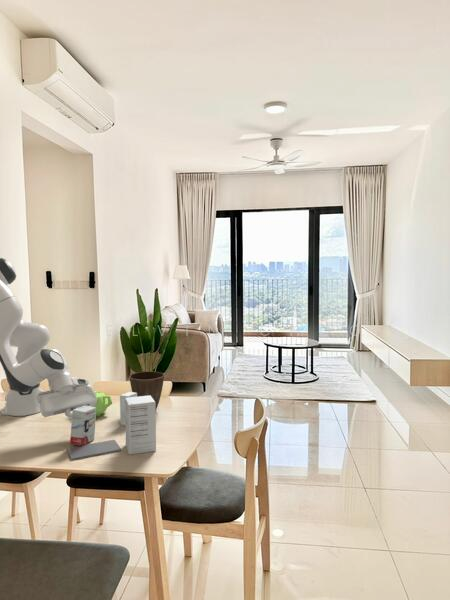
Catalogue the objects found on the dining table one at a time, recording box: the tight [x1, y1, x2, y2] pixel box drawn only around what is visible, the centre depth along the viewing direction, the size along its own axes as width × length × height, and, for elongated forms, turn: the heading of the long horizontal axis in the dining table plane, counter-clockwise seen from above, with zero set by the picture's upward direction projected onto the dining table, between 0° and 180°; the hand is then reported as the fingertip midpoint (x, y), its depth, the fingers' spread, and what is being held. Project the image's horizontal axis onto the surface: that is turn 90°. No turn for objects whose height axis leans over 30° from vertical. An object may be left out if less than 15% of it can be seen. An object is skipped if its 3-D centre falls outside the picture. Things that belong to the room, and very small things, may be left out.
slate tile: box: [66, 439, 122, 461], centre depth 142 cm, size 10×16×1 cm, turn 118°
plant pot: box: [128, 371, 165, 410], centre depth 183 cm, size 15×15×16 cm
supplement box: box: [124, 396, 157, 455], centre depth 144 cm, size 10×9×17 cm
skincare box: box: [119, 391, 137, 426], centre depth 168 cm, size 6×4×12 cm
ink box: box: [69, 406, 97, 446], centre depth 148 cm, size 9×5×12 cm, turn 168°
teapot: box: [92, 390, 113, 418], centre depth 179 cm, size 12×12×10 cm
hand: (76, 420), depth 150 cm, fingers closed
